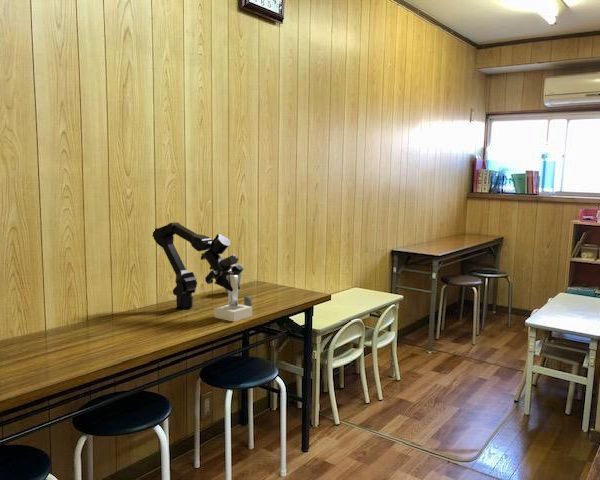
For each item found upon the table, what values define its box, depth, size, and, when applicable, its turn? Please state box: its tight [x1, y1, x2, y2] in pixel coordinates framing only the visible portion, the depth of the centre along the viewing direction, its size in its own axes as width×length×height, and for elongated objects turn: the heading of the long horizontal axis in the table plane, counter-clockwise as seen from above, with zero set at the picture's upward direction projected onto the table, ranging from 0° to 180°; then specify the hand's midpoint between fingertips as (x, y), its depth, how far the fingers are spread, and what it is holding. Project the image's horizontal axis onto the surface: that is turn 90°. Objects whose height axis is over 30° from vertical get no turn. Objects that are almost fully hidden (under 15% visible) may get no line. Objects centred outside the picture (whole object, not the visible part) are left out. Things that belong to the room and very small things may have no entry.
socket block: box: [214, 303, 253, 322], centre depth 221 cm, size 11×11×4 cm
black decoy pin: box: [243, 295, 253, 308], centre depth 232 cm, size 3×3×6 cm
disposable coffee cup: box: [224, 263, 244, 294], centre depth 267 cm, size 11×11×15 cm
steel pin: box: [227, 275, 239, 306], centre depth 220 cm, size 4×4×12 cm
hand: (235, 290), depth 219 cm, fingers closed on steel pin, 4 cm apart
